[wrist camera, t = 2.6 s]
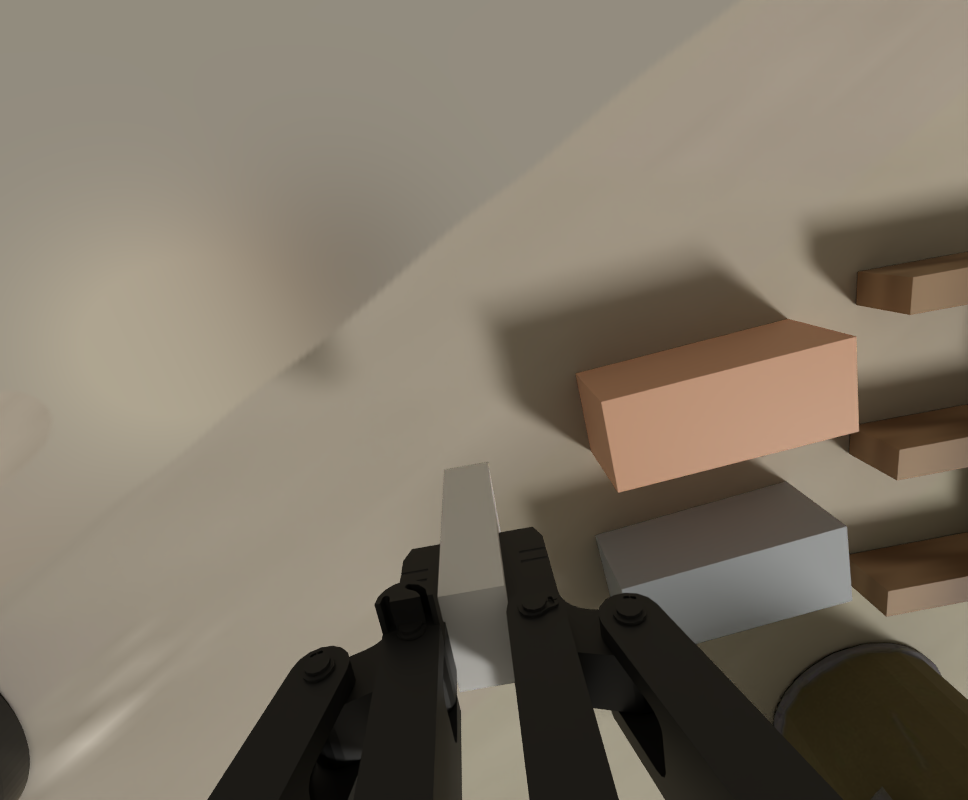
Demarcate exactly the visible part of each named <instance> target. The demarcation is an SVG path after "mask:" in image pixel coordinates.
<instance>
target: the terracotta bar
mask: <svg viewBox="0 0 968 800" xmlns="http://www.w3.org/2000/svg"><path fill="white" fill-rule="evenodd" d="M576 379H577V384H578V389H579V394H580V399H581V404H582V409H583V414H584V419H585V424H586V429H587V434H588V439H589V444H590V449H591V452H592V453H593V455H594V456H595V458H596V460H597V461H598V463H599V464H600V466H601V467H602V469H603V470H604V472H605V473H606V475H607V476H608V478H609V479H610V481H611V482H612V484H613V485H614V487H615V489H616V490H617V492H618V493H619V492H623V491H627V490H631V489H635V488H639V487H643V486H647V485H651V484H655V483H659V482H663V481H667V480H670V479H674V478H678V477H682V476H686V475H690V474H694V473H698V472H702V471H706V470H710V469H714V468H718V467H722V466H725V465H729V464H733V463H737V462H741V461H745V460H749V459H753V458H757V457H761V456H765V455H769V454H773V453H776V452H780V451H784V450H788V449H792V448H796V447H800V446H804V445H808V444H812V443H816V442H820V441H824V440H827V439H831V438H835V437H839V436H843V435H847V434H851V433H855V432H859V413H858V378H857V342H856V336H852V335H848V334H844V333H841V332H837V331H833V330H829V329H825V328H821V327H817V326H813V325H810V324H806V323H802V322H798V321H794V320H790V319H785V320H781V321H778V322H774V323H770V324H766V325H762V326H758V327H754V328H750V329H746V330H743V331H739V332H735V333H731V334H727V335H723V336H719V337H715V338H711V339H708V340H704V341H700V342H696V343H692V344H688V345H684V346H680V347H677V348H673V349H669V350H665V351H661V352H657V353H653V354H649V355H645V356H642V357H638V358H634V359H630V360H626V361H622V362H618V363H614V364H611V365H607V366H603V367H599V368H595V369H591V370H587V371H583V372H579V373H576Z"/></svg>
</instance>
